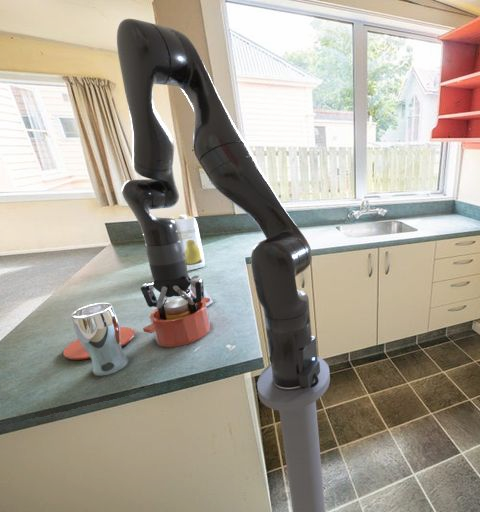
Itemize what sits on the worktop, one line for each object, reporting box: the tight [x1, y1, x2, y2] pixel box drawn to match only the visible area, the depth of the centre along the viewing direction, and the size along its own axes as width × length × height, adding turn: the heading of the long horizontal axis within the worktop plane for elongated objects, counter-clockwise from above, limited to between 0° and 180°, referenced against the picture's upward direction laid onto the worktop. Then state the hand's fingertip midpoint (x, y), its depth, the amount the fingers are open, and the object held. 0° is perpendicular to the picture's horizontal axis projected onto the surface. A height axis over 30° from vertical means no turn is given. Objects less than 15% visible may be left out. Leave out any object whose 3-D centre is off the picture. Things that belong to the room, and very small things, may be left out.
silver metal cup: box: [70, 302, 129, 377], centre depth 66 cm, size 7×7×15 cm
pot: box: [142, 297, 211, 348], centre depth 81 cm, size 13×18×8 cm
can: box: [164, 297, 191, 320], centre depth 81 cm, size 6×6×9 cm
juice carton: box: [170, 214, 205, 272], centre depth 129 cm, size 9×8×24 cm
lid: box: [63, 326, 136, 361], centre depth 76 cm, size 14×14×6 cm
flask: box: [189, 274, 214, 307], centre depth 97 cm, size 7×7×10 cm
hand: (180, 317), depth 81 cm, fingers closed on can, 6 cm apart
